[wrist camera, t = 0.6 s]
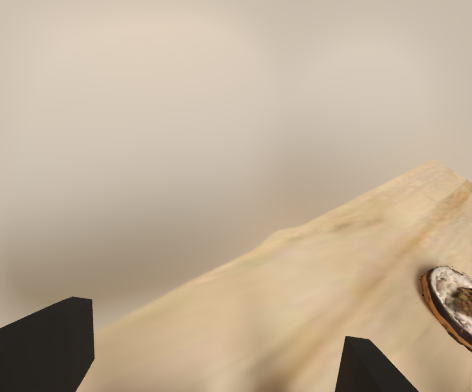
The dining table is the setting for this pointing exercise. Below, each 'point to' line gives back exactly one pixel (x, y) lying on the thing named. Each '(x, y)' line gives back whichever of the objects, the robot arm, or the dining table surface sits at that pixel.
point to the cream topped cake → (450, 301)
